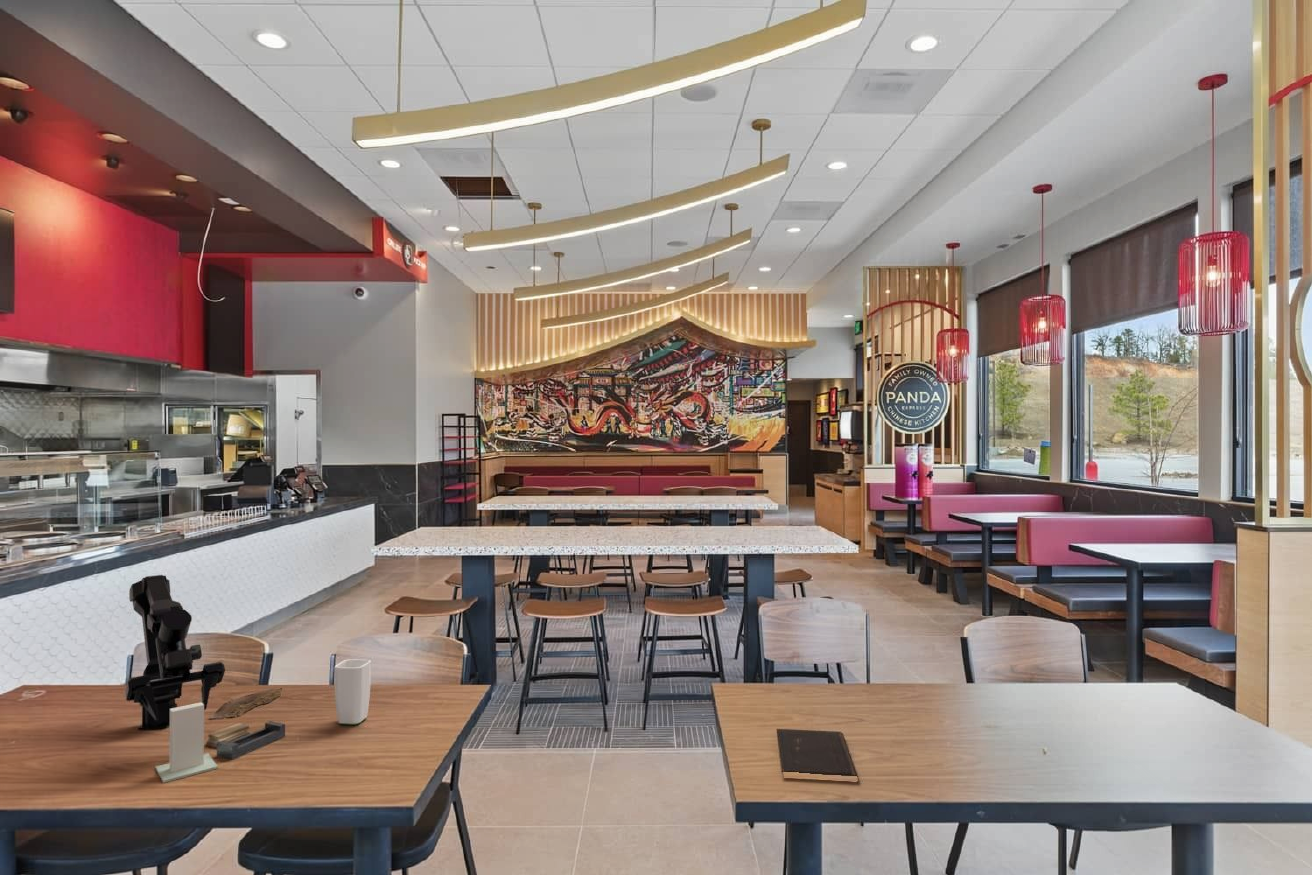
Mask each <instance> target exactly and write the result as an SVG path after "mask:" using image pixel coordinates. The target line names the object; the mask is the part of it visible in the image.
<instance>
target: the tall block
mask: <svg viewBox="0 0 1312 875" xmlns="http://www.w3.org/2000/svg"><path fill="white" fill-rule="evenodd" d="M168 751H169V755H168V756H169V762H168V763H169V769H170V770H171V772H175V771H179V770H183V769H186V768H190V767H194V766H198V765H202V764H204V754H205V710H204V704H203V703H202V701H199V702H196V703H192V704H186V705H182V706H177V707H176V708H171V709H170V725H169V750H168Z"/></svg>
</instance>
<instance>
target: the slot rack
mask: <svg viewBox="0 0 1312 875" xmlns="http://www.w3.org/2000/svg"><path fill="white" fill-rule="evenodd" d="M284 737H285V738H286V724H285V723H282V722H276V721H272V720H270V721H267V722H264V727H263V728H259V729H258V730H257V729H256V730H255V731H252V732H250V734H248V735H245V736H243V737H240V738H238V739H235V740H233V741H231V742H228V741H224V740H222V741H220V742H217V748H216V757H219V758H224V759H228V760H235V759H237V758H240V757H241V756H244V755H245V754H249V753H251V752H252V751H255V750H258V749H260V748H262V747H264V746H267V745H269V744H271V743H274V742H276V741H278V740H280V739H283V738H284Z"/></svg>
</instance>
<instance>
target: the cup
mask: <svg viewBox="0 0 1312 875" xmlns="http://www.w3.org/2000/svg"><path fill="white" fill-rule="evenodd" d="M371 664H372V661H371V660H370V659H356V658H351V659H344V660H342V661H340V662H339V663H337V664H336V665H335V666H334V667H333V668H334V670H333V671H334V681H333V682H334V683H333V684H334V699H335V700H334V703H335V709H336V710H335V711H336V719H337V723H339V724H341V725H346V726H347V725H350V726H351V725H354V726H355V725H358V724H360V723H361V722H362V721H364V720H365V719H366V718H368V713H369V705H370V698H371V697H370V695H371V681H372V680H371V678H372V676H371V675H372V674H371V673H372V671H371V670H372V667H371V666H372V665H371Z"/></svg>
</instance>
